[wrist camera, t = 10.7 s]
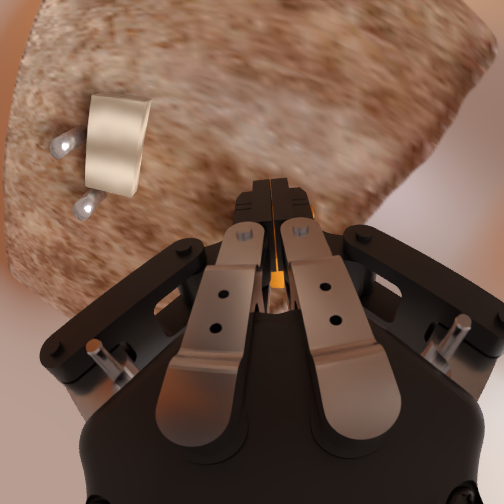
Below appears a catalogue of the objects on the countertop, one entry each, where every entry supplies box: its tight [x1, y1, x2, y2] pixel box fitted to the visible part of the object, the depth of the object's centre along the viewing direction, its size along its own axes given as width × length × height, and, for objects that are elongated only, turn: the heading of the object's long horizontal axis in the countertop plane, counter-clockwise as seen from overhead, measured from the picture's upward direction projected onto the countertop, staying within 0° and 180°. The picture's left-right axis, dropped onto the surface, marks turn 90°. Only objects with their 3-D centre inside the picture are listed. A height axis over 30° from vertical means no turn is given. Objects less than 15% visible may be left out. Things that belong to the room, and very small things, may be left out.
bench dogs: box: [49, 126, 107, 220], centre depth 34 cm, size 13×3×6 cm, turn 7°
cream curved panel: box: [85, 92, 152, 197], centre depth 34 cm, size 14×8×3 cm, turn 163°
